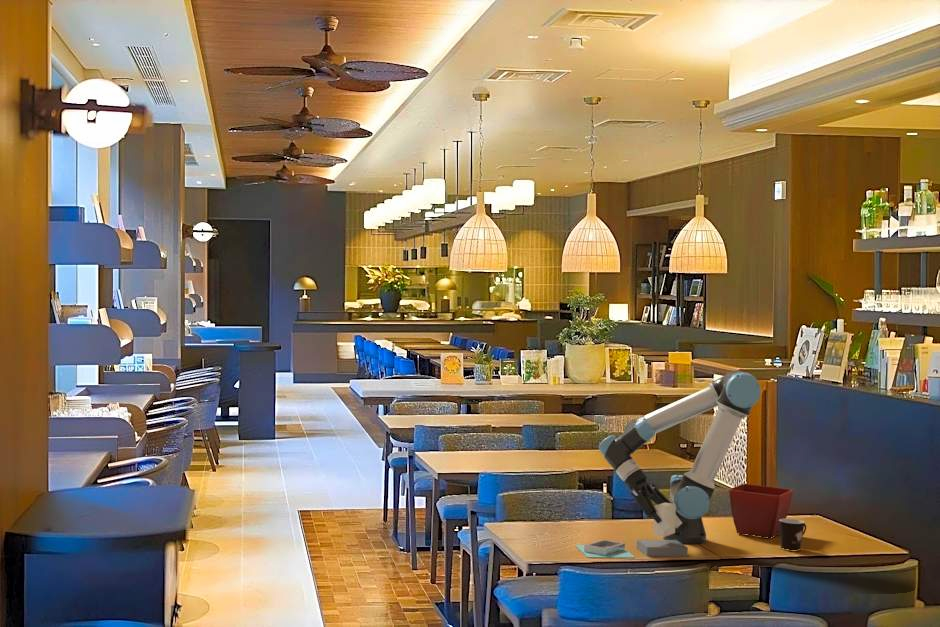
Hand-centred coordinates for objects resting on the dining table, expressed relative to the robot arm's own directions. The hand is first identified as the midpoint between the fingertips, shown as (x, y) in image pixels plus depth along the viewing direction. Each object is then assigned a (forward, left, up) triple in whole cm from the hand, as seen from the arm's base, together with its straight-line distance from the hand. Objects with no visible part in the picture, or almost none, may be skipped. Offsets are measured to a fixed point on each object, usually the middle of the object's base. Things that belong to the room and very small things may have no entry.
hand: (673, 527), depth 404 cm
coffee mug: (-8, +47, -9) cm, 49 cm away
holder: (-2, -23, -9) cm, 25 cm away
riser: (-2, -3, -9) cm, 10 cm away
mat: (-2, -23, -9) cm, 25 cm away
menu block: (-2, -2, -3) cm, 4 cm away
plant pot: (-33, +44, -9) cm, 56 cm away
